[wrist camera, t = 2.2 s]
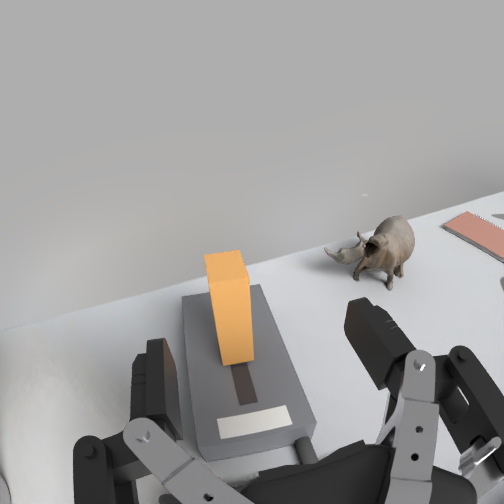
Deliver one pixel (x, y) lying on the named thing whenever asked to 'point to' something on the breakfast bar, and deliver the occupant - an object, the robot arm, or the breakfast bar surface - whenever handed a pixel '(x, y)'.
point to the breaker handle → (231, 305)
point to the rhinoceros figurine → (381, 249)
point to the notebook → (479, 233)
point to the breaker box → (242, 386)
